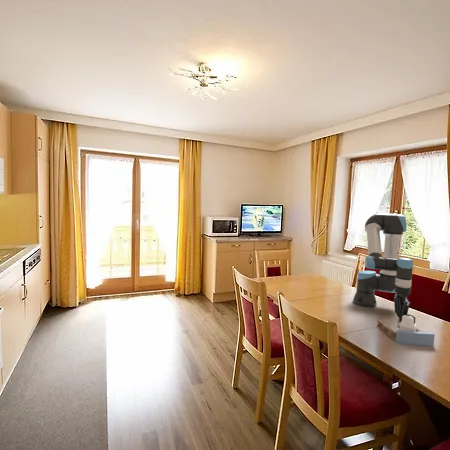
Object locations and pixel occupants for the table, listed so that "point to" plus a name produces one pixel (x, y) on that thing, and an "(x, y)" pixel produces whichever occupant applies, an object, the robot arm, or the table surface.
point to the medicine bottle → (407, 323)
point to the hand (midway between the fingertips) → (399, 327)
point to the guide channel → (390, 330)
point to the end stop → (415, 338)
